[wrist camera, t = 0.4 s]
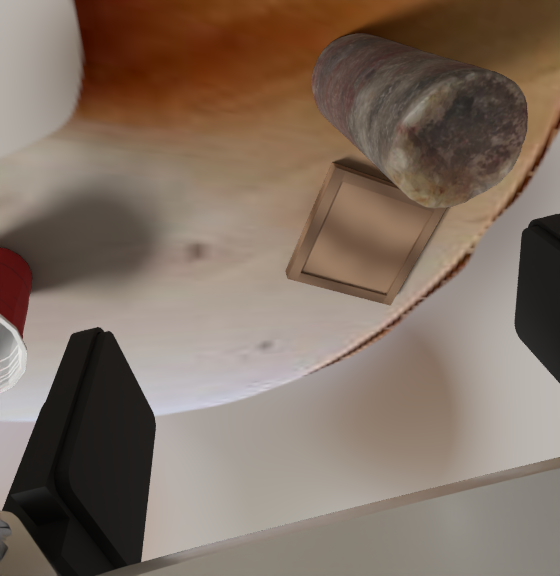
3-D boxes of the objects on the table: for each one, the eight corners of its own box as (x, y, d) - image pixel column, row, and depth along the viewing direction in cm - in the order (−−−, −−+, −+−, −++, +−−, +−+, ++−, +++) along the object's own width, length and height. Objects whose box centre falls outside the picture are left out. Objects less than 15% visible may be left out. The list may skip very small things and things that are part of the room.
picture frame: (332, 162, 44) (336, 167, 43) (441, 200, 48) (447, 205, 46) (285, 271, 50) (287, 278, 48) (386, 297, 53) (390, 305, 52)
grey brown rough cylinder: (405, 31, 39) (554, 69, 22) (393, 124, 43) (512, 216, 26) (312, 31, 38) (395, 72, 22) (308, 126, 42) (376, 223, 25)
